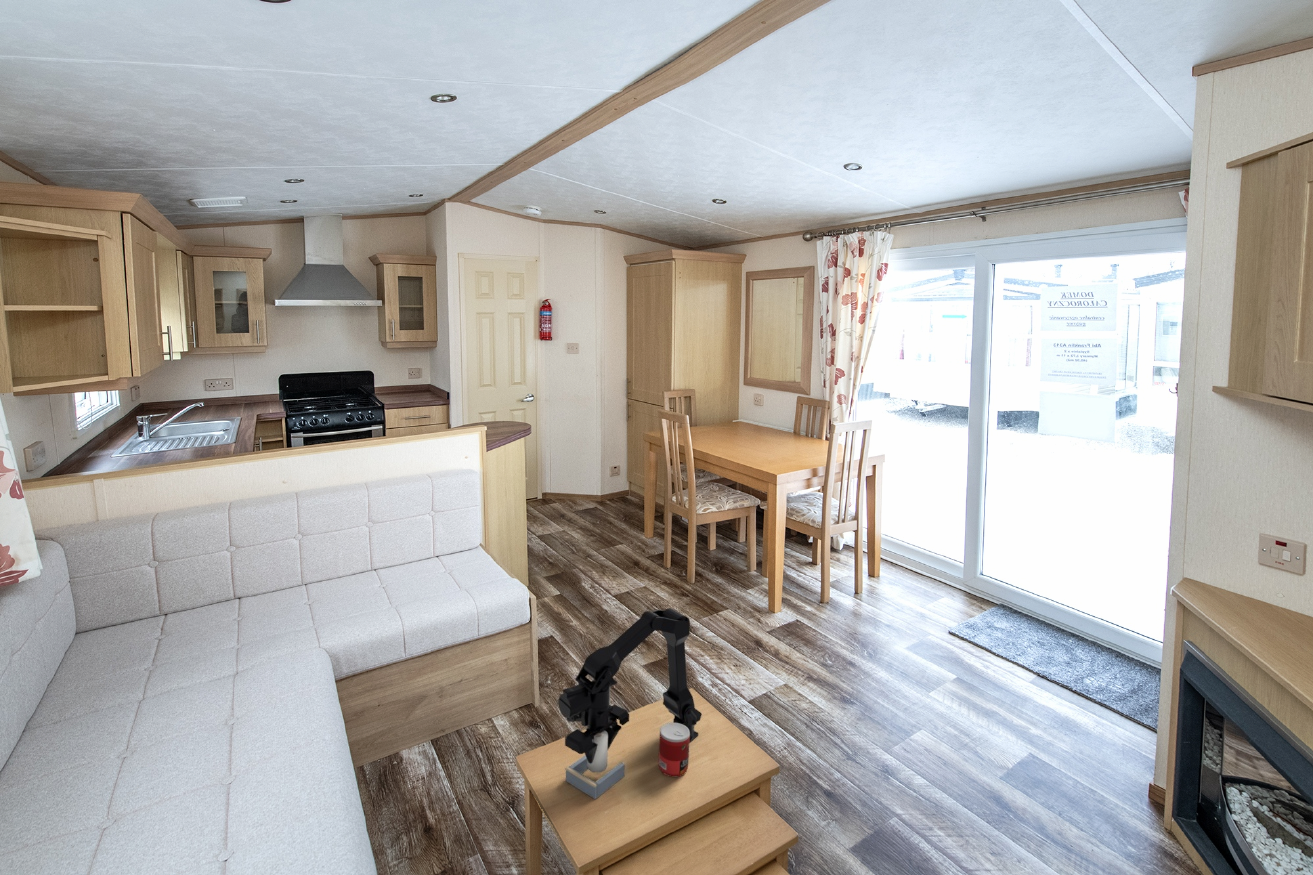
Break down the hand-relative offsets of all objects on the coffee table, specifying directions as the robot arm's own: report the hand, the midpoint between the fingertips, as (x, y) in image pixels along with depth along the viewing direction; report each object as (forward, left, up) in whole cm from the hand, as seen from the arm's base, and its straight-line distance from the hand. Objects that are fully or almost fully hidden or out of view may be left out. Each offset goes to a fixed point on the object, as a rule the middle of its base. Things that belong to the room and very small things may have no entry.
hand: (597, 757), depth 176 cm
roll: (0, 0, -2) cm, 2 cm away
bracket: (0, 0, -6) cm, 6 cm away
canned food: (-16, +13, -6) cm, 21 cm away
